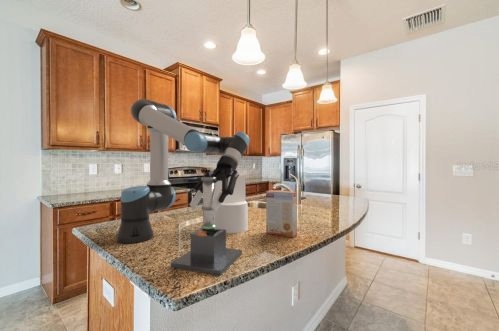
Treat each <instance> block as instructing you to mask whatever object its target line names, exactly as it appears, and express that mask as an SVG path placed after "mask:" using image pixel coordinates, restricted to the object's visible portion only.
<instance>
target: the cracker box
mask: <svg viewBox="0 0 499 331" xmlns="http://www.w3.org/2000/svg"><path fill="white" fill-rule="evenodd" d="M265 193H266V195H265V200H266V202H265V203H266V204H265V207H266V208H265V210H266V211H265V213H266V214H265V215H266V216H265V217H266V218H265V223H266V224H265V226H266V228H265V230H266V232H265V233H266V234H269V235H276V236H282V237H287V238H294V237H295V236H297V235H298V195H297V194H298V191H294V190H293V191H291V190H278V189H276V190H275V189H274V190H272V189H271V190H266V191H265Z"/></svg>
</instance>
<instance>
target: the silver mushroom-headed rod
mask: <svg viewBox="0 0 499 331" xmlns="http://www.w3.org/2000/svg"><path fill="white" fill-rule="evenodd" d="M200 177H201V178H200V180H201V181H203V193H202V194H203V196H202V206H201V211H202V224H201V229H202V230H203V231H207V234H208V235H213V234H215V229H216V224H215V212H214V210H213V209H212V208H211V206H212V204H213V202H214V201H215V183H214V181H216V177H203V176H200Z"/></svg>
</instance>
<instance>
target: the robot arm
mask: <svg viewBox="0 0 499 331" xmlns="http://www.w3.org/2000/svg"><path fill="white" fill-rule="evenodd" d="M130 114H131V117H132V118H133V119H134V120H135V121H136V122H137V123H139V124H141V125H143V126H145V127H146V126H147V128H146V129H147V131H148V132H149V133H150V141H149V142H150V146H149V148H150V150H149V154H150V160H149V162H150V163H149V181H148V182H147V183H146V185H138V186H131V187H127V188H124V189H123V190H122V191H121V193H120V195H121V196H120V199H119V200H120V225H119V228H118V232H117V234H116V242H117V243H120V244H135V243H141V242H145V241H149V240H151V239H152V238H153V237H154V230H153V228H152V224H151V222H150V213H152V212H156V211H163V210H166V209H170V207H172V205H174V204H175V201H176V191H175V189H174V187H172V183H171V182H170V181H169V137H170V138H171V139H173V140H175V141H177V142H179V143H180V144H182V145H184V146H185V148H186V149H187V151H189V152H194V153H205V154H206V153H207V154H214V155H216V154H217V155H221V156H220V158H219V159H218V161H217V163H216V167H215V168H214V169H213V170H210V169H207V171H206V173H205V174H204V175H203V176H202V177H216V181H214V184H215V183H216V182H217V181H222V190H221V191H222V192H219V193H218V195H217V197H216V199H215V198H214V202H213V204H212V206H211V208H212V209H213V210H214V213H215V212H217V210H218V208H219V206H220V204H221V203H223V201H224V199H225V198H226V196H227V195H229V194H230V195H232V194H233V192H234V188H235V184H236V180H237V178H238V176H239V175H240V174H239V173H238V170H237V168H238V166H239V164H240V162H241V159H242V158H243V156H244V154H245V152H246V151H247V150H248V147H249V145H250V142H251V141H250V137H249V136H248V134H246V133H245V132H243V131H238V132H237V131H236V133H235V134H234V135H232V136H218V135H212V134H207V133H204V132H201V131H199V130H197V129H195V128H193V127H191V126H189V125H187V124H185V123H183V122H181V121H179V120H177V119H178V117H177V114H176V111H175V110H174V108H172V107H171V106H170V105H169V106H168V105H167V104H165V103H160V102H157V101H154V100H150V99H145V98H142V99H138V100H135V101H134V102H133V103H132V105H131V106H130ZM230 176H231V177H230ZM229 177H230V181H229V185H228V178H229ZM193 189H194V190H195V193H194V195H192V200H191V201H190V203H189V207H191V209H192V210H196V209H197V207H198V205H199V203H200V201H201V200H202V199H203V181H201V179H200V180H199V181H198V182H197V183H196V184H195V186H194V187H193Z"/></svg>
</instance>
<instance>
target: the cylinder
mask: <svg viewBox="0 0 499 331" xmlns="http://www.w3.org/2000/svg"><path fill="white" fill-rule="evenodd" d="M230 177H231V176H230ZM230 177H229V178H228V185H229V181H230ZM246 181H247V180H246V174H239V176H238V178H237V180H236V184H235V188H234V192H233V194H232V195H230V194H229V195H227V196H226V198H225V199H224V201H223V203H221V204H220V206H219V208H218V210H217V212H214V224H216V229H225V230H226V234H229V235H230V234H239V233H244V232H246V231H247V230H248V226H249V225H248V221H249V220H248V212H249V211H248V209H249V208H248V207H249V206H248V201H246V200H247V199H246V198H247V197H246V194H247V193H246V189H247V188H246ZM221 190H222V181H217V182H216V183H214V200H215V199H216V197H217V195H218V193H219V192H222V191H221Z"/></svg>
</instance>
